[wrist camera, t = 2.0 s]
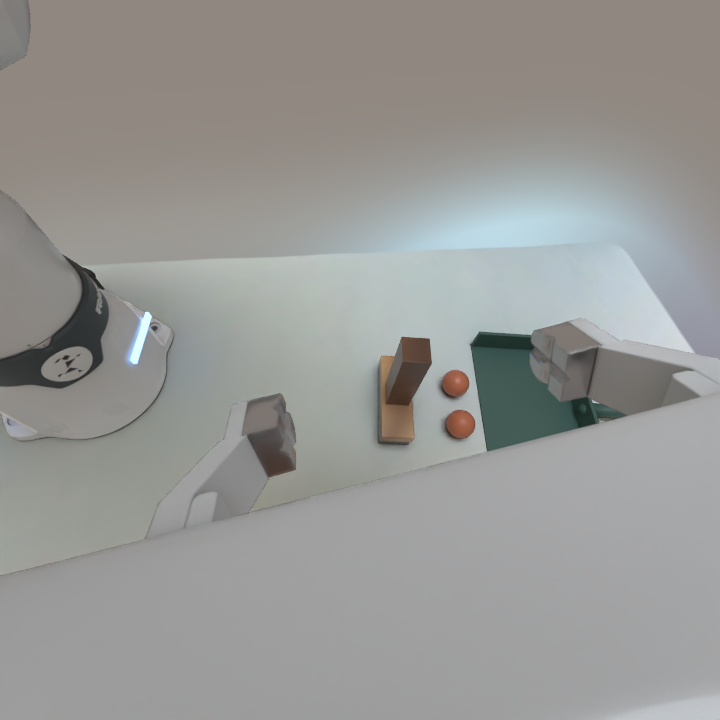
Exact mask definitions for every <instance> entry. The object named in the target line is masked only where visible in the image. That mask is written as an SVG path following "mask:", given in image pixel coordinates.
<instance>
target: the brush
mask: <svg viewBox="0 0 720 720" xmlns="http://www.w3.org/2000/svg"><path fill="white" fill-rule="evenodd" d="M431 364H432V361H431V350H430V339H425V338H410V337H402V338H401V340H400V343H399V346H398V349H397V352H396V355H395V356H381V358H380V363H379V367H378V443H387V444H409V443H410V442H412V441H413V439H414V423H413V405H412V398H413V397H414V395H415V393H416V391H417V389H418V387H419V386H420V384H421V382H422V380H423V378H424V377H425V375H426V373H427V371H428V369H429V367H430V366H431Z"/></svg>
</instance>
